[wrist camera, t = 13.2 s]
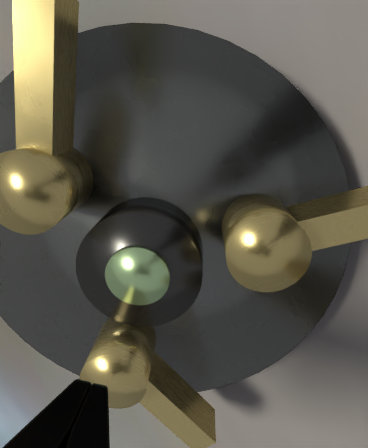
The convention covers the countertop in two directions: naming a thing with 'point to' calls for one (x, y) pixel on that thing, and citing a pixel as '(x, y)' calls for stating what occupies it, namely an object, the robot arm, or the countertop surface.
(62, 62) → the knob
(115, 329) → the knob
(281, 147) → the tribrach plate
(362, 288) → the countertop surface
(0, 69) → the countertop surface
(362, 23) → the countertop surface
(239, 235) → the knob
